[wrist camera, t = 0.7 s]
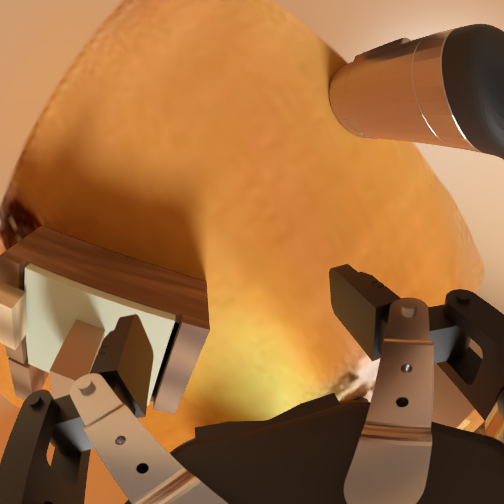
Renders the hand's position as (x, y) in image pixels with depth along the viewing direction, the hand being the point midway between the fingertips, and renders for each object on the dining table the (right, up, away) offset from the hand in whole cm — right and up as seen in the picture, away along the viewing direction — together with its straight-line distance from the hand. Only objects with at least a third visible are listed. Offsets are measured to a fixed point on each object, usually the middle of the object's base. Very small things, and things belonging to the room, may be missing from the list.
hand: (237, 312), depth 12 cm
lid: (-15, -6, +14) cm, 22 cm away
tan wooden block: (-22, -3, +9) cm, 24 cm away
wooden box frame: (-18, -7, +22) cm, 29 cm away
